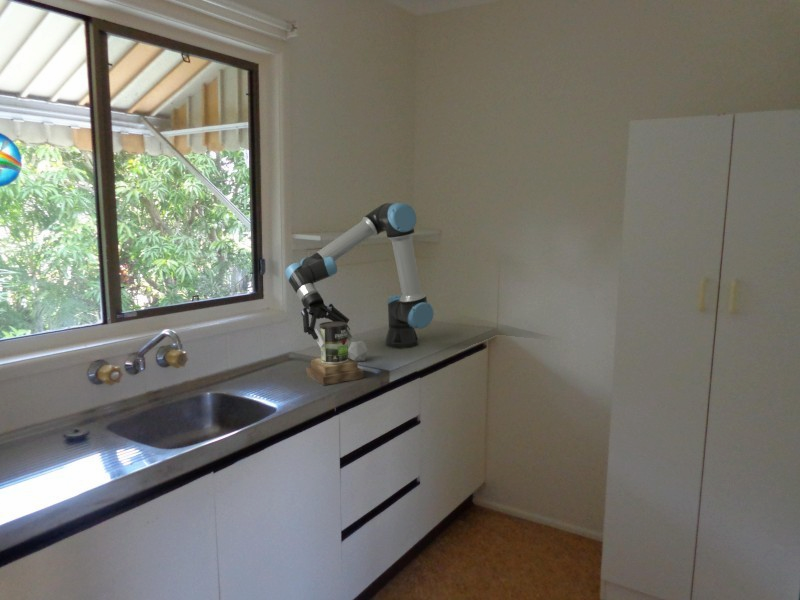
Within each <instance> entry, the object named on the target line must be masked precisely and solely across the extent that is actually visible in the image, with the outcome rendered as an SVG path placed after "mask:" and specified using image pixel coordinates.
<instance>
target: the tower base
mask: <svg viewBox="0 0 800 600" xmlns="http://www.w3.org/2000/svg"><path fill="white" fill-rule="evenodd" d="M358 362H359V361H354V360H352V359H351V358H350V357H348V361H347V362H345V363H340V364H325V363H322V362H321V357H320V358H315V359H311V360H310V364H311V366H306V367H305V369H306V371H305V372H306V376H308V377H309V378H310V379H312V380H314V381H316V382H318V383H319V384H321V385H322V386H328V385H329V386H330V385H334V384H340V383H345V382H350V381H355V380H356V381H357V380H361V379H364V369H362V368H360V367H359V366H358V365H359V364H358ZM344 381H345V382H344Z"/></svg>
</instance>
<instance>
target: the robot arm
mask: <svg viewBox="0 0 800 600" xmlns="http://www.w3.org/2000/svg"><path fill="white" fill-rule="evenodd" d="M415 211H416V210H415V209H414V208H413V207H412V206H411V205H409V204H408V203H405V202H404V203H403V202H400V201H399V202H392V203H391V202H387V203H382V204H381V205H378V206H377V207H376V208H374V209H373V210H371V211H370V212H369V213H367V214H366V215H365V216H363V217H362V220H361V221H360V222H359V223H357V224H356V225H354V226H353V227H350V229H348V230H347V231H346V232H344V233H343V234H341V235H339V236H338V237H336V239H334V240H333V241H331V242H329V243H328V244H326V245H325V246H324V247H323V248H321V249H319V250H318V251H316V252H315V253H313V254H312V255H310V256H307V257H304V258H302V259H301V260H300V262H294V263H292V264H290V265H288V267H286V269H285V271H284V275H285V276H286V279H287V280H288V281H287V282H288V283H289V284H290V286H291V288H293V290H294V292H295V294H296V295H297V297H298V299H299V300H300V302H301V303H302V305H303V309H302V310H301V312H300V313H301V316H302V322H303V323H302V324H303V327H302V328H303V332H304V333H306V334H307V335H311V337H312V339H314V341H316V343H317V344H318V346H319V348H320V349H321V348H322V347H323V345H324V344H325V342H324V340H323V339H322V337H321V335H320V331H319V330H318V329H317V328H316V324H317V320H319V319H326V320H327V319H328V320H330V321H331V322H332V321H340V322H346V323H347V341H349V342H352V341H351V340H352V339H354V335H353V334H352V332H351V329H350V326H349V325H348V323H349V321H350V318H348V317H347V316H346V315H344V314H343V313H342V312H341V311H340V310H338V309H337V308H336V307H335V306H334V305H333V304H332V303H329V305H326V304H325V302H324V298H323V297H322V296H321V294H320V293H319V291H318V289H317V287H316V286H315V283H317V282H320V281H323V280H325V279H327V278H330V277H332V276H334V275H336V274H337V273H338V266H337V263H336V262H337V261H338V260H339V259H341V258H342V257H344V256H345V255H346V254H348V253H350V252H351V251H352V250H353V249H355V248H356V247H358V246H359V245H360V244H362V243H363V242H365V241H366V240H368V239H369V238H371V237H372V236H374V237H376V236H378V235H380V234H381V233H383V232H385V233H386V237H387V239H389V240H390V241H391V243H392V249H393V255H394V261H395V266H396V270H397V276H398V280H399V284H400V286H399V287H400V291H401V294H397V295H390V296H388V300H387V311H388V312H387V313H388V329H387V333H386V337H385V341H384V344H385V346H386V347H388V348H391V349H392V348H393V349H409V348H414V347H417V346H419V338H418V335H417V333H416V329H419V330H420V329H424V328H427V327H428V326H430V324H431V322H432V321H433V319H434V315H435V312H434V309H433V306H432V305H431V304H430V303H428V298H427V295H426V293H424V292H423V291H422V288H421V287H422V285H421V282H420V275H419V270H418V264H417V260H416V254H415V248H414V242H413V236H414V235H415V225H416V223H417V214H416V212H415ZM309 315H310V316H311V318H309Z"/></svg>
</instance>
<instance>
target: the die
mask: <svg viewBox="0 0 800 600" xmlns="http://www.w3.org/2000/svg"><path fill="white" fill-rule="evenodd" d="M368 353H369V350H368V348H367V346H366V343H365V341H363V340H361V341H360V340H359V341H350V345H349V346H348V357H349V358H350V359H352V360H354V361H356V362H365V360H366V358H367V356H368Z"/></svg>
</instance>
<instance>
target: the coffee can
mask: <svg viewBox="0 0 800 600" xmlns="http://www.w3.org/2000/svg"><path fill="white" fill-rule="evenodd" d="M318 325H319V334H320V335H321V337H322V339H323V340H324V342H325V344H324V345H323V347H322V348H320V358H321V362H322V363H325V364H340V363H345V362H347V361H348V358H349V353H348V349H349V346H348V343H349V342H348V339H347V325H348V323H346V322H340V321H332V320H331V321H324V322H321V323H319V324H318Z"/></svg>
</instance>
